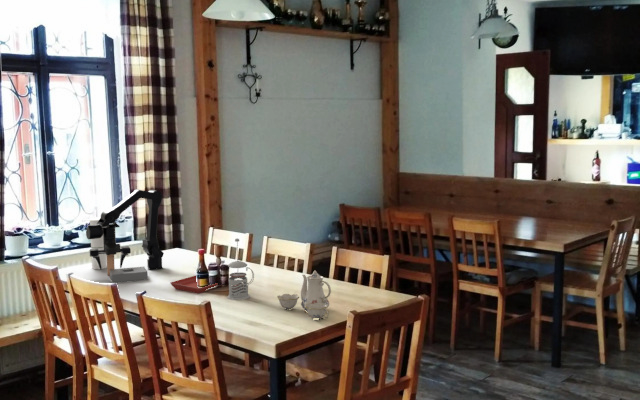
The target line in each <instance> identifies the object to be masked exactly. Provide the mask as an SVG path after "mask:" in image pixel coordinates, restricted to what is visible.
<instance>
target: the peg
mask: <svg viewBox="0 0 640 400" xmlns="http://www.w3.org/2000/svg"><path fill="white" fill-rule="evenodd" d="M106 258H107V267H106V269H107V270H106V271H107V277H110V269H116V267H115V255H113V254H111V255H106Z"/></svg>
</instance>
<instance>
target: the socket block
mask: <svg viewBox="0 0 640 400" xmlns="http://www.w3.org/2000/svg"><path fill="white" fill-rule="evenodd" d="M148 273H149V272H148V270H147V268H146V267H145V266H136V267H123V268H122V267H121V268H115V269H110V276H109V278H110V281H111V283H112V282H117V283H116V284H119V283H118V282H121V283H128V282H127V281H132V282H140V281H142V282H143V281H148V280H149V276H148Z"/></svg>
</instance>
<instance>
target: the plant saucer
mask: <svg viewBox="0 0 640 400" xmlns="http://www.w3.org/2000/svg"><path fill="white" fill-rule="evenodd" d="M170 285H171V286H172V287H173V288H174V289H176V290H180V291H185V292H191V293H197V294H201V293H205V292H206V291H205V290H206V289H208V288H211V287H214V286H216V285H218V283H215V284H212V285H208V286H205V287H202V288H198V287H197V282H196V275H193V276H189V277H185V278H181V279H178V280H174V281H171V282H170ZM204 291H205V292H204Z"/></svg>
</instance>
